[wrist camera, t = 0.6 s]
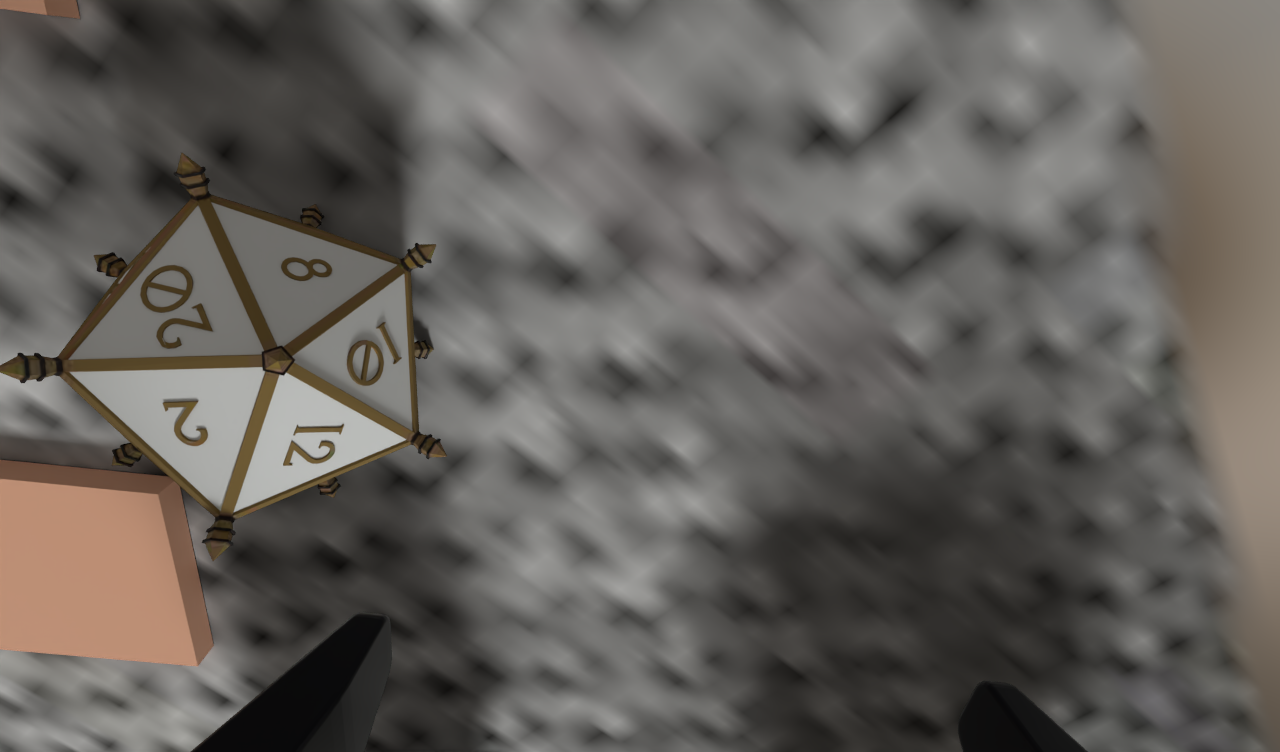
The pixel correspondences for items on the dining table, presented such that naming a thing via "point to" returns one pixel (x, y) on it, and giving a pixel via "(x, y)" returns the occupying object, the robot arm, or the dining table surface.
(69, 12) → the tile
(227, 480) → the game die
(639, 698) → the dining table surface
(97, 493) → the tile
